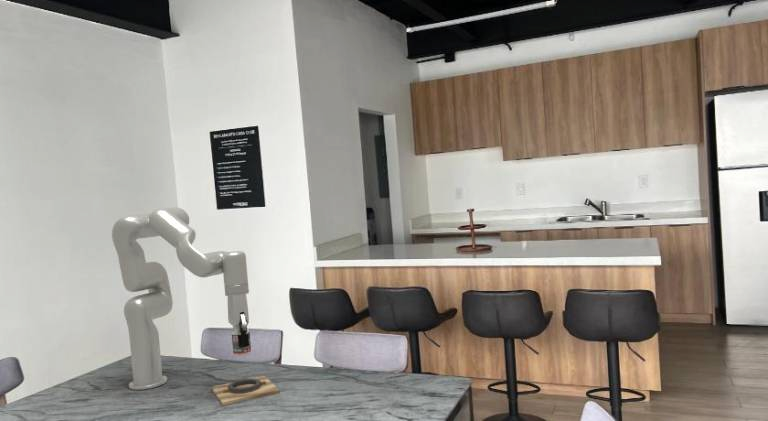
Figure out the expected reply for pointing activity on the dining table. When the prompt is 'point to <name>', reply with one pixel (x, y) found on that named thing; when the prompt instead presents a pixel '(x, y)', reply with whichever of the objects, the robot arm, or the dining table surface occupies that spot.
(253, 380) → the socket board
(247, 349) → the pill bottle
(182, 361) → the dining table surface
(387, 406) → the dining table surface
